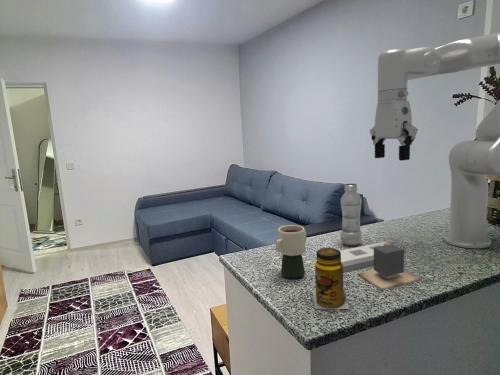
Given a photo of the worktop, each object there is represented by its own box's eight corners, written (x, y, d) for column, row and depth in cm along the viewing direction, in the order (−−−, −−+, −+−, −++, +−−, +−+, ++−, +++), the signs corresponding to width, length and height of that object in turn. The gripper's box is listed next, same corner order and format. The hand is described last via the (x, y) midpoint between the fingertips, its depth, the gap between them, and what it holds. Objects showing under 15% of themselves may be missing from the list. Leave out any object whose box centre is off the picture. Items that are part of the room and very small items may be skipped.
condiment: (314, 309, 71) (313, 257, 69) (312, 290, 80) (311, 243, 77) (349, 310, 70) (349, 257, 68) (343, 290, 79) (343, 242, 76)
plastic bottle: (338, 241, 111) (337, 183, 107) (357, 240, 111) (357, 182, 108) (344, 248, 105) (343, 186, 101) (365, 247, 105) (365, 185, 101)
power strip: (384, 251, 100) (384, 239, 100) (401, 259, 94) (401, 247, 93) (326, 263, 94) (326, 251, 94) (341, 272, 88) (340, 260, 87)
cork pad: (394, 266, 90) (394, 264, 89) (421, 279, 81) (421, 278, 81) (357, 275, 86) (357, 273, 86) (381, 290, 77) (381, 288, 77)
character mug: (297, 265, 94) (295, 221, 92) (316, 272, 89) (315, 226, 87) (269, 277, 88) (266, 230, 86) (287, 286, 82) (285, 236, 80)
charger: (391, 270, 86) (391, 244, 85) (403, 276, 82) (404, 249, 81) (373, 274, 85) (373, 247, 84) (385, 281, 81) (385, 253, 79)
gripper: (428, 93, 84) (426, 159, 87) (381, 100, 101) (381, 156, 104) (405, 94, 82) (403, 162, 85) (361, 101, 98) (361, 158, 101)
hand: (391, 158), depth 94 cm, fingers open, 9 cm apart
